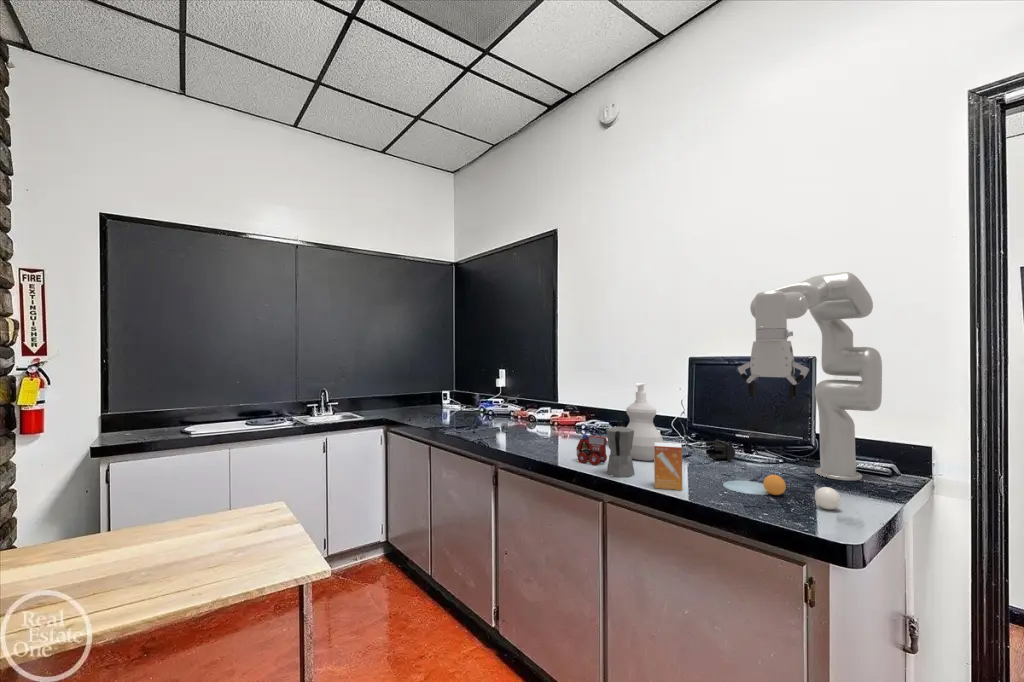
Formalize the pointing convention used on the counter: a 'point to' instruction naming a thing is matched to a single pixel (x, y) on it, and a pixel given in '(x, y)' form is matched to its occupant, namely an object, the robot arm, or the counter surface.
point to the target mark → (746, 487)
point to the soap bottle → (642, 427)
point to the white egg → (827, 498)
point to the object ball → (774, 485)
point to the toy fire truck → (592, 449)
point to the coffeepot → (620, 451)
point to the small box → (668, 465)
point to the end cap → (720, 451)
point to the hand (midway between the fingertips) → (772, 398)
